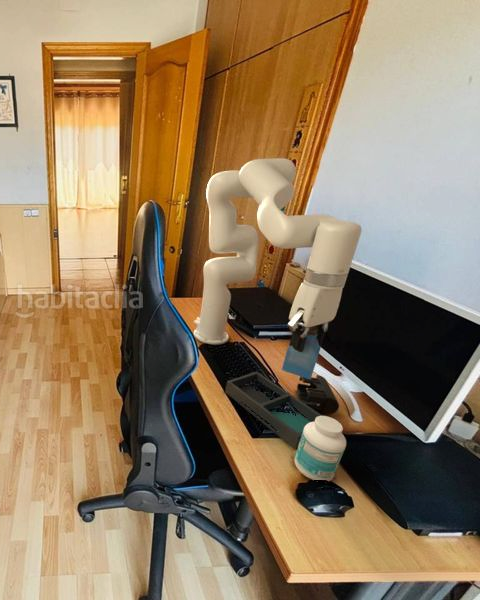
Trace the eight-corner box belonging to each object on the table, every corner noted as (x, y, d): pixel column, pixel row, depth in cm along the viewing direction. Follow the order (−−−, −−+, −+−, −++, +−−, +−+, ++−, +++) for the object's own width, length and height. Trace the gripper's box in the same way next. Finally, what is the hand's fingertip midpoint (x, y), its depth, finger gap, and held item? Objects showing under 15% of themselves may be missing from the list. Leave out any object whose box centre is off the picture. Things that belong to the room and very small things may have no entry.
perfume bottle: (314, 367, 84) (327, 326, 79) (310, 379, 79) (324, 336, 74) (286, 359, 87) (297, 319, 82) (281, 370, 83) (292, 328, 78)
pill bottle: (305, 450, 78) (321, 406, 72) (340, 474, 72) (359, 428, 66) (286, 463, 75) (300, 418, 69) (320, 490, 69) (338, 443, 63)
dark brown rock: (335, 419, 86) (342, 399, 84) (304, 413, 89) (310, 394, 86) (323, 395, 95) (329, 376, 92) (295, 390, 97) (300, 371, 94)
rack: (225, 392, 97) (227, 381, 96) (254, 382, 101) (256, 371, 100) (294, 449, 78) (298, 436, 77) (327, 434, 82) (332, 422, 80)
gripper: (333, 267, 79) (313, 332, 87) (282, 278, 74) (265, 346, 81) (368, 276, 73) (343, 346, 80) (314, 289, 67) (293, 362, 75)
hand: (304, 345), depth 80 cm, fingers closed on perfume bottle, 5 cm apart
